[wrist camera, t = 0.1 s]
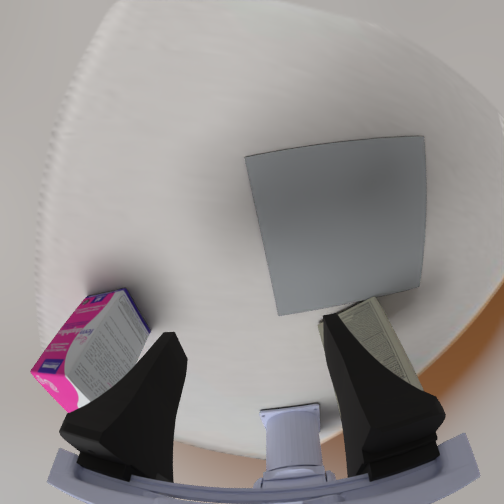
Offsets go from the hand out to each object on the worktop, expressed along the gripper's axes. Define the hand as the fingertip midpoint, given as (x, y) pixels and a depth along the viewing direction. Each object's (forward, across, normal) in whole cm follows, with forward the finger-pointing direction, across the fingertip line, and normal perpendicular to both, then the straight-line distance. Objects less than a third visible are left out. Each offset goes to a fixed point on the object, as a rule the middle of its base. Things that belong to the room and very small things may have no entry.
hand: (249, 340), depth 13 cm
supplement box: (+10, +15, +5) cm, 19 cm away
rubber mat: (+10, -8, 0) cm, 13 cm away
